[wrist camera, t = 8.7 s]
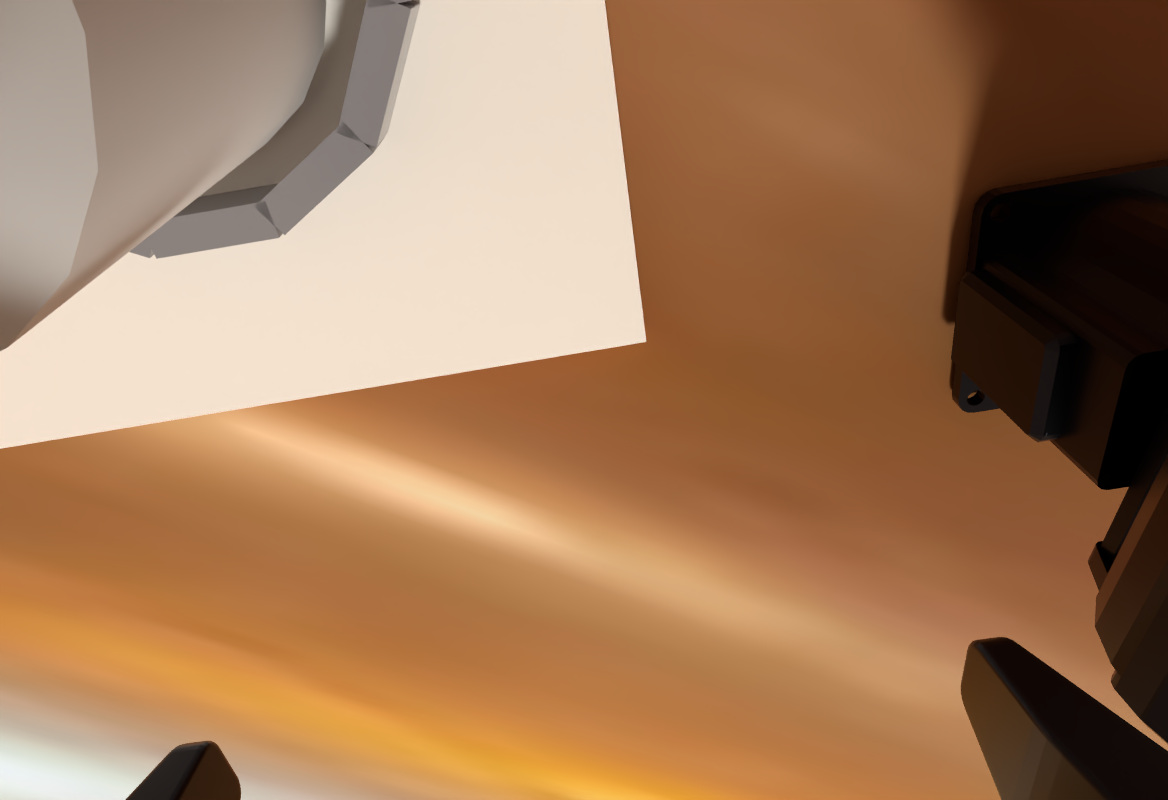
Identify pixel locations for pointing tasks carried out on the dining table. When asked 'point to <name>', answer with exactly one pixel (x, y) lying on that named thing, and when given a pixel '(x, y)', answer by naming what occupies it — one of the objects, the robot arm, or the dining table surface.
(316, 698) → the dining table surface
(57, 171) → the can
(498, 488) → the dining table surface
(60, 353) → the platter
